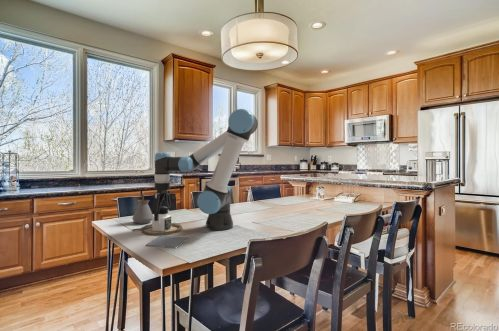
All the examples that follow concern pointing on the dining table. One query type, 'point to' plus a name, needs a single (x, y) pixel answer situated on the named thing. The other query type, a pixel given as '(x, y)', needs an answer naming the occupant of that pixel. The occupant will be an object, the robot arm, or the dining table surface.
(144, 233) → the woven rattan coaster
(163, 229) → the medicine bottle
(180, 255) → the dining table surface
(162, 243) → the slate mat
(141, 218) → the coffee pot
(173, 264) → the dining table surface
